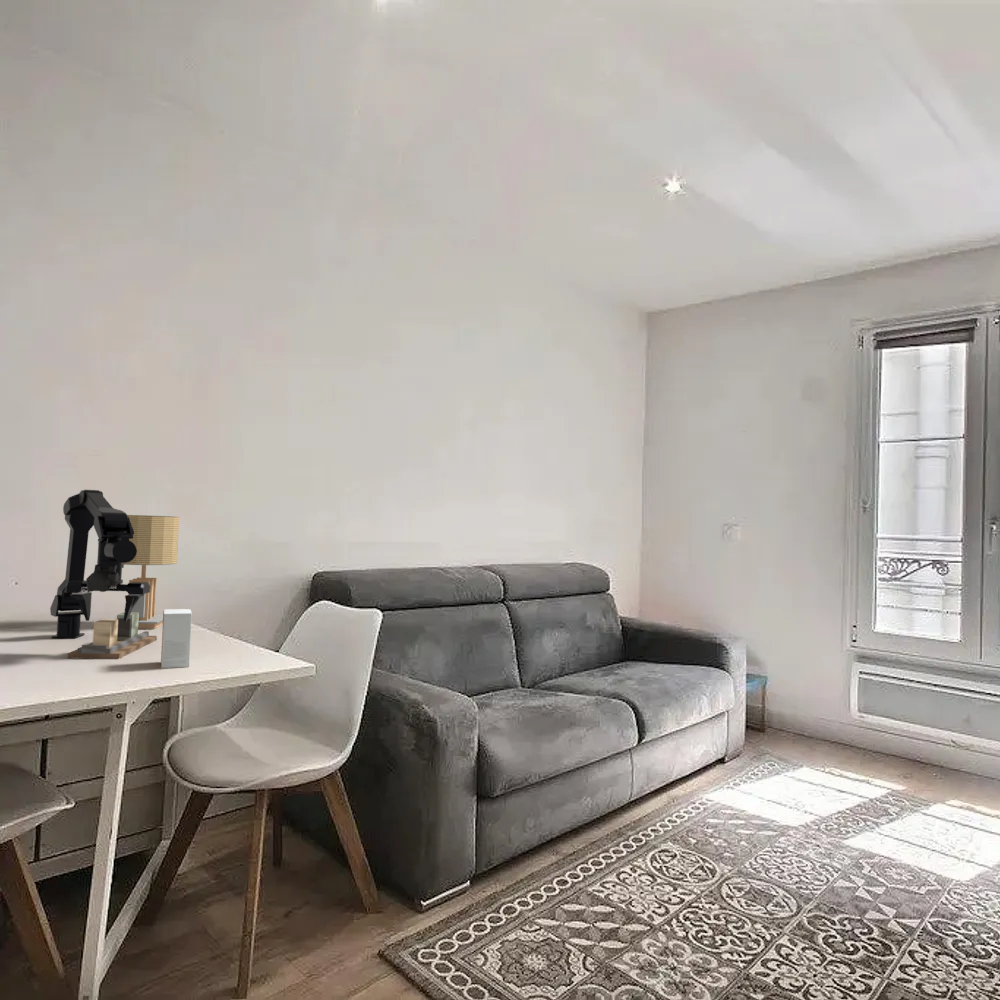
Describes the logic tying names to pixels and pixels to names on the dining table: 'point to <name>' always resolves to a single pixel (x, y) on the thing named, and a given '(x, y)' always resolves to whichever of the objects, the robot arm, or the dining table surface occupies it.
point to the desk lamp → (152, 559)
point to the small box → (176, 638)
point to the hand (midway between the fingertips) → (106, 621)
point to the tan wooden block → (105, 632)
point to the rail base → (125, 641)
